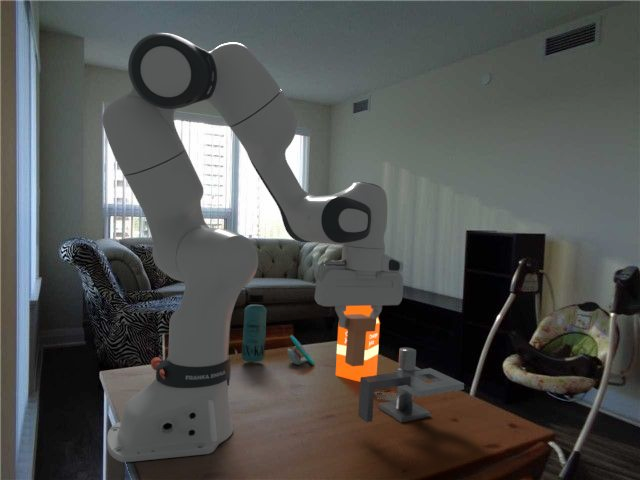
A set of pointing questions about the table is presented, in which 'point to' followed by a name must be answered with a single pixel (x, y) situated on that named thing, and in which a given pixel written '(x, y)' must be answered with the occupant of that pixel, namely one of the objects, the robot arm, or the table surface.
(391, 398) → the mounting bracket
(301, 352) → the ornament
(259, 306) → the beverage bottle
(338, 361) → the orange juice
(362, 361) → the brown block
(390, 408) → the grey windowed jig
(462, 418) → the table surface
